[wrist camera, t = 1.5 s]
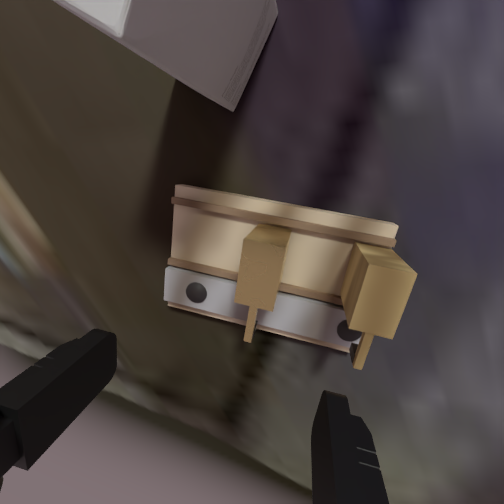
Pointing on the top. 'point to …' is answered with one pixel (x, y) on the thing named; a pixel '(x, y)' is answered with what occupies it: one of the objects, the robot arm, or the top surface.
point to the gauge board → (290, 269)
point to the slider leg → (261, 271)
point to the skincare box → (189, 38)
